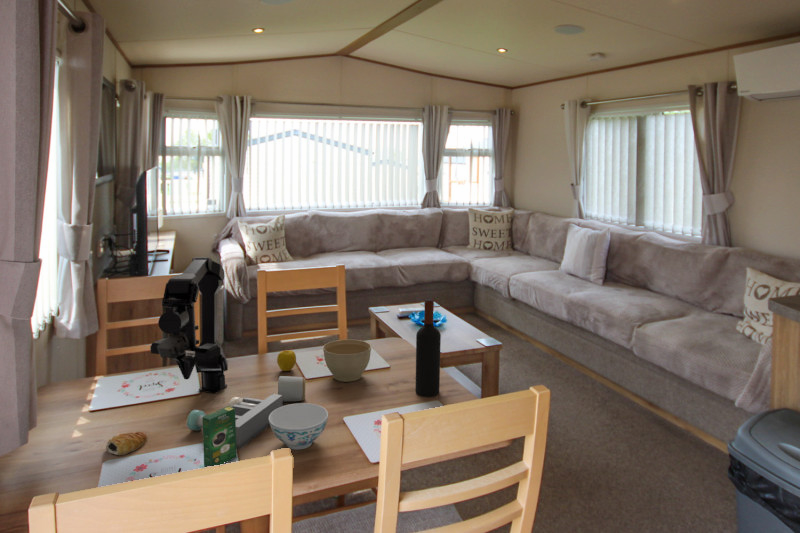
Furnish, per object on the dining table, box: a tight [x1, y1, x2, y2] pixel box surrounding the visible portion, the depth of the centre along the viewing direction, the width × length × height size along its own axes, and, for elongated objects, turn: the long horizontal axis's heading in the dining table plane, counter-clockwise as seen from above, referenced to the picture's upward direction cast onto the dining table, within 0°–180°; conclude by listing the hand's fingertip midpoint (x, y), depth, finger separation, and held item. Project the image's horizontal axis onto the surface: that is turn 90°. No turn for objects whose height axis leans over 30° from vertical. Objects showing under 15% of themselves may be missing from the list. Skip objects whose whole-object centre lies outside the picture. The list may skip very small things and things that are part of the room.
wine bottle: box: [414, 298, 442, 398], centre depth 177 cm, size 8×8×30 cm
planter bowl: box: [322, 339, 372, 383], centre depth 191 cm, size 16×16×11 cm
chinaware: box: [269, 402, 329, 450], centre depth 146 cm, size 15×15×8 cm
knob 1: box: [186, 409, 207, 432], centre depth 152 cm, size 9×5×5 cm, turn 71°
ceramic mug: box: [277, 375, 306, 403], centre depth 174 cm, size 11×8×8 cm
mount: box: [232, 393, 283, 450], centre depth 155 cm, size 11×21×6 cm, turn 161°
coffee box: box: [202, 405, 238, 468], centre depth 136 cm, size 8×3×13 cm, turn 147°
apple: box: [276, 349, 297, 372], centre depth 197 cm, size 6×6×8 cm
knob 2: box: [227, 396, 257, 407], centre depth 161 cm, size 9×5×5 cm, turn 71°
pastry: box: [105, 431, 148, 456], centre depth 144 cm, size 9×7×4 cm
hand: (186, 378), depth 156 cm, fingers closed
